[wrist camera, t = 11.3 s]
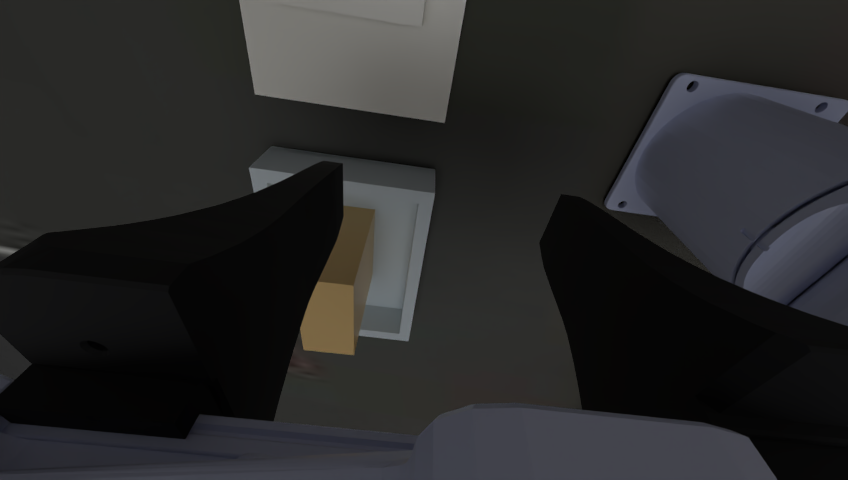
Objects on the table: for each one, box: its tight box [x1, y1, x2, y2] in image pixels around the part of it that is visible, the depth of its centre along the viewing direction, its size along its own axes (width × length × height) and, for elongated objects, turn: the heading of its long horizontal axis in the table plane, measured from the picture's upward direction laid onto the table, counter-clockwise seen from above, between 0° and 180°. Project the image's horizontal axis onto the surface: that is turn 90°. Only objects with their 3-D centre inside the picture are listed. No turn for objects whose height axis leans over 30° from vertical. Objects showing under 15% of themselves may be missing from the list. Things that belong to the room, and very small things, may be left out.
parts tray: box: [249, 146, 435, 341], centre depth 23 cm, size 10×14×3 cm
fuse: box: [300, 206, 375, 355], centre depth 21 cm, size 3×6×7 cm, turn 173°
